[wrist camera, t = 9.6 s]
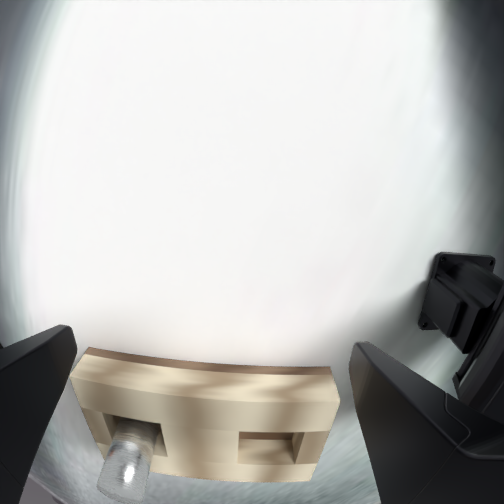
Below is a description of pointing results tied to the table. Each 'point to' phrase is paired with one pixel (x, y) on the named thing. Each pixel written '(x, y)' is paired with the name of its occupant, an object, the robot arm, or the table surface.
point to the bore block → (212, 414)
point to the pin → (129, 460)
